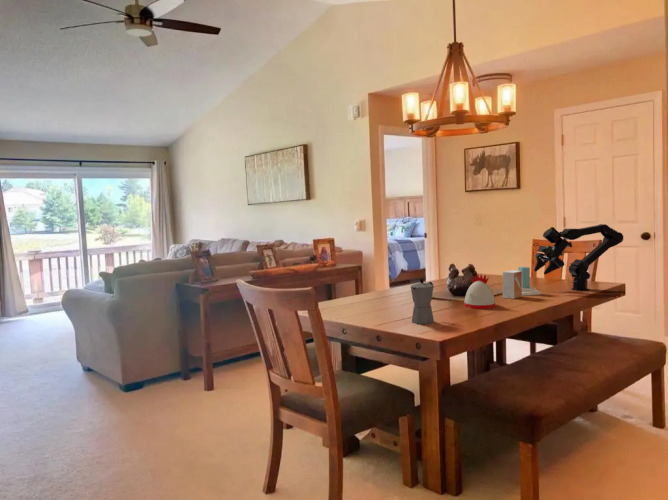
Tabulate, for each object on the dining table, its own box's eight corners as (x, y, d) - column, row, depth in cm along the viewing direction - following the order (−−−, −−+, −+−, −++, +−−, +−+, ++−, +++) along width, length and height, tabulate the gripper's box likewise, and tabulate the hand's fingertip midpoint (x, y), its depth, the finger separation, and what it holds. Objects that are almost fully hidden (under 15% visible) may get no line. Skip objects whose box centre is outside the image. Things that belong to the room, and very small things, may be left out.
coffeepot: (424, 326, 206) (423, 281, 204) (404, 323, 212) (403, 279, 210) (443, 319, 217) (442, 276, 216) (423, 316, 223) (422, 275, 222)
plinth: (529, 290, 276) (529, 285, 276) (541, 294, 264) (541, 288, 264) (507, 292, 274) (507, 286, 274) (518, 295, 263) (518, 290, 262)
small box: (514, 299, 255) (514, 272, 254) (502, 297, 259) (502, 271, 258) (522, 296, 260) (522, 270, 259) (510, 295, 265) (510, 270, 264)
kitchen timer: (490, 309, 232) (489, 276, 231) (460, 307, 240) (459, 275, 238) (498, 304, 244) (498, 272, 243) (470, 302, 251) (469, 271, 250)
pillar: (525, 289, 271) (525, 266, 270) (529, 290, 267) (529, 267, 266) (518, 290, 271) (518, 267, 270) (522, 291, 267) (522, 268, 266)
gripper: (537, 237, 278) (519, 260, 278) (557, 241, 260) (538, 266, 260) (551, 250, 280) (533, 273, 280) (572, 254, 262) (553, 279, 262)
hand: (539, 272), depth 270 cm, fingers open, 9 cm apart
